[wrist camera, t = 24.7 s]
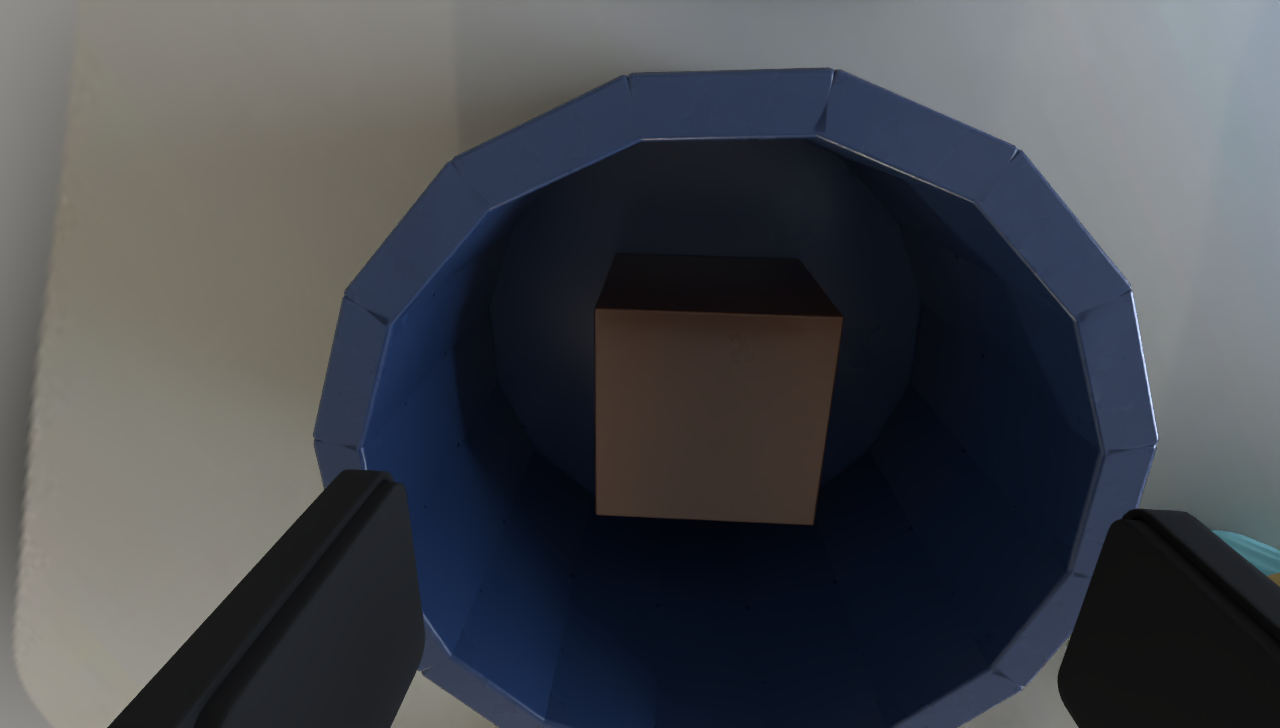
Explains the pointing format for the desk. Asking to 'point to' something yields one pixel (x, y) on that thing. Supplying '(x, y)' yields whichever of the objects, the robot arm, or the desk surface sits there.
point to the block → (712, 388)
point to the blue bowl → (857, 433)
